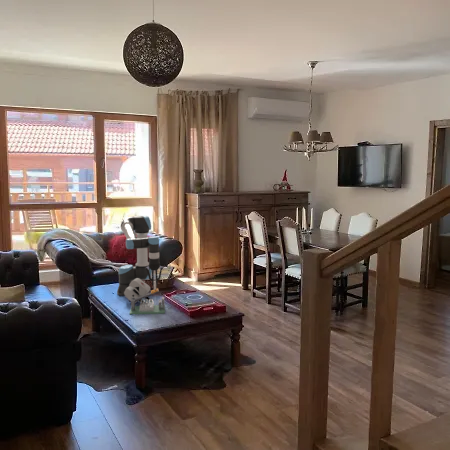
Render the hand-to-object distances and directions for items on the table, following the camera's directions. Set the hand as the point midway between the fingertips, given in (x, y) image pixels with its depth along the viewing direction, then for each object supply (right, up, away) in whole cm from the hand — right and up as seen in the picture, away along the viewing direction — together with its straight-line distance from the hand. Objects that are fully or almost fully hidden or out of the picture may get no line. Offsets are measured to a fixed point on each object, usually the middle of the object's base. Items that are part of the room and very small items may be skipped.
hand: (155, 289), depth 340 cm
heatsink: (-6, -15, +2) cm, 16 cm away
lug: (+5, -14, +3) cm, 15 cm away
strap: (-7, -6, 0) cm, 9 cm away
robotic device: (-16, -14, +19) cm, 29 cm away
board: (-6, -16, +2) cm, 17 cm away
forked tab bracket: (-16, -15, 0) cm, 22 cm away
